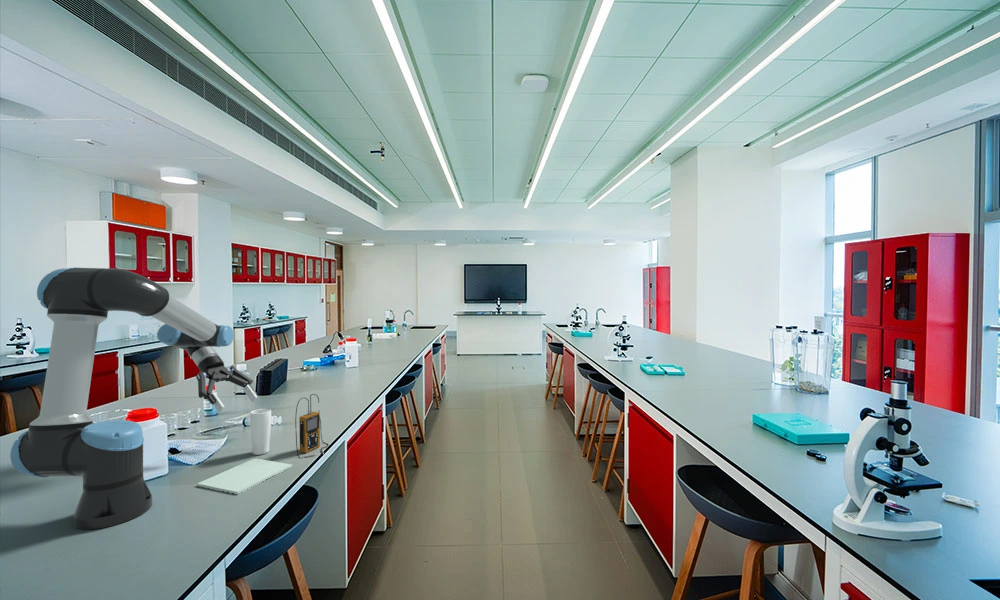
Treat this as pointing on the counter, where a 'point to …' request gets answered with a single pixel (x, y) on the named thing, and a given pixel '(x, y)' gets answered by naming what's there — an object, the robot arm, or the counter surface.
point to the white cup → (260, 430)
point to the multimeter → (309, 430)
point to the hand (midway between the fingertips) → (239, 404)
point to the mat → (244, 476)
